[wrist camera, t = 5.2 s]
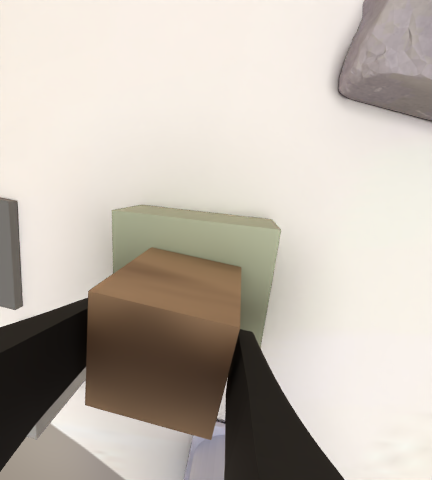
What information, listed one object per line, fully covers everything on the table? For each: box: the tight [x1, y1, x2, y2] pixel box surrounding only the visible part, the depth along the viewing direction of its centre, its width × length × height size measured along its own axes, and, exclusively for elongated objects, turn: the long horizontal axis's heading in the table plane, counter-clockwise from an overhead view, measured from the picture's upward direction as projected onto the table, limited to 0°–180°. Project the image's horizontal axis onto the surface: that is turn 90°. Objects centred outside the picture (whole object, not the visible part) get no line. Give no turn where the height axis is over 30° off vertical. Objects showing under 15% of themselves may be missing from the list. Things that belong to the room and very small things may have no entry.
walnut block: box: [85, 247, 241, 440], centre depth 10 cm, size 5×5×5 cm
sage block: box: [112, 205, 281, 347], centre depth 14 cm, size 9×9×4 cm
